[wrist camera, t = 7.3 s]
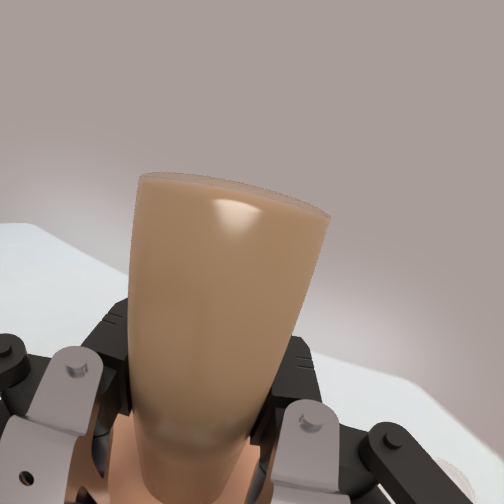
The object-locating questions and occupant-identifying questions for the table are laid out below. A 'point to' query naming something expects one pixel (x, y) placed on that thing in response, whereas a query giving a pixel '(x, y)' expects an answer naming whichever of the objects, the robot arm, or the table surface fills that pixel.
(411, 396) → the table surface
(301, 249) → the lid
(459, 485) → the ramekin
